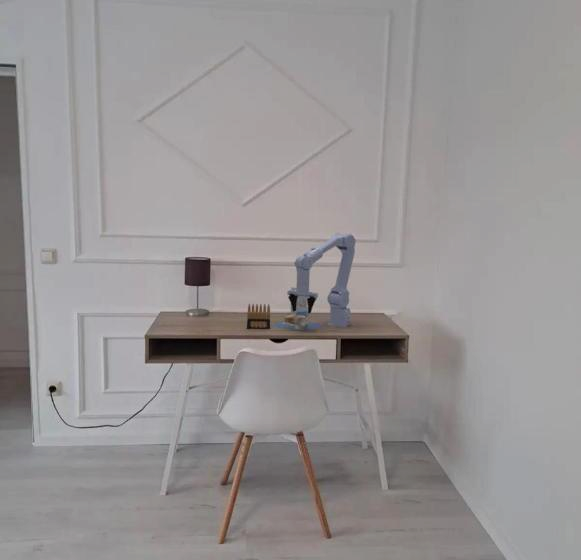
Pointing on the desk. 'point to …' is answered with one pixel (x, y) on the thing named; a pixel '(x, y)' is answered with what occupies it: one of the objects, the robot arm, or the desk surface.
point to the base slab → (292, 318)
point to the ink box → (300, 305)
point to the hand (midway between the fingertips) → (301, 311)
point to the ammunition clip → (258, 317)
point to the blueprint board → (292, 326)
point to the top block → (301, 323)
